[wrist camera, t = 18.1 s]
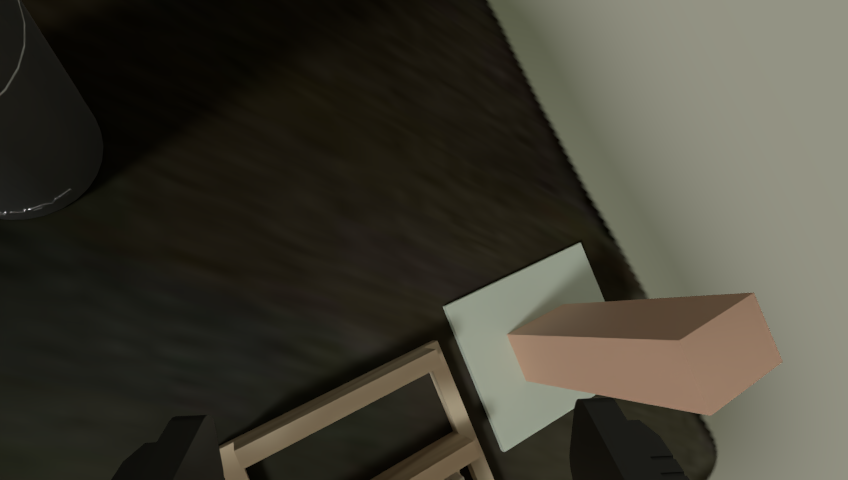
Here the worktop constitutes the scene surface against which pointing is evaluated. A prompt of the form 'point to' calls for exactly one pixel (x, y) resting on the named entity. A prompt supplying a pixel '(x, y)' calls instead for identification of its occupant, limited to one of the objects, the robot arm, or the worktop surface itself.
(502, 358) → the sage mat
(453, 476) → the plywood offcut stack
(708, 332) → the peach upright pillar
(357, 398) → the birch rack
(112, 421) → the worktop surface
